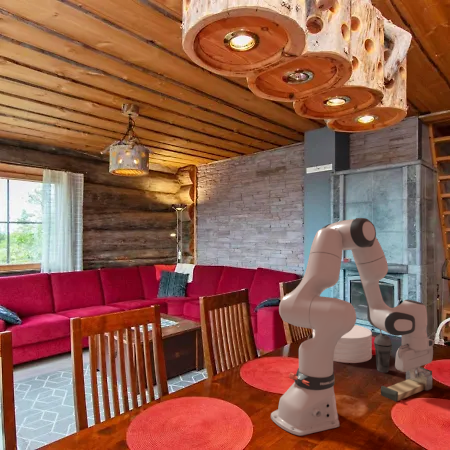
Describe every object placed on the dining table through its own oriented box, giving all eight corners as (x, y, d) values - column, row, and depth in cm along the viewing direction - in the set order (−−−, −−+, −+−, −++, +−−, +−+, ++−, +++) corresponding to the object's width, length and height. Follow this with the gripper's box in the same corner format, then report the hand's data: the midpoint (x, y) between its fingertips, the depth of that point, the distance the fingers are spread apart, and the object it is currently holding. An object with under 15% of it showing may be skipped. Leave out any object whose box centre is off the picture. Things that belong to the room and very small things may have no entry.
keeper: (426, 390, 138) (426, 374, 138) (405, 382, 145) (405, 367, 145) (432, 388, 140) (432, 372, 140) (411, 380, 147) (411, 365, 147)
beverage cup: (393, 374, 153) (393, 327, 154) (375, 372, 155) (375, 326, 155) (389, 368, 160) (389, 322, 161) (372, 366, 162) (372, 321, 162)
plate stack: (310, 342, 196) (310, 321, 196) (363, 345, 192) (363, 323, 193) (315, 361, 169) (315, 336, 169) (378, 364, 165) (378, 339, 165)
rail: (396, 401, 129) (396, 384, 129) (380, 395, 134) (380, 378, 134) (432, 386, 142) (432, 370, 142) (416, 380, 147) (416, 366, 147)
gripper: (406, 349, 132) (406, 387, 132) (436, 340, 143) (436, 375, 143) (390, 344, 138) (390, 380, 138) (420, 336, 149) (420, 369, 149)
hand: (414, 377), depth 141 cm, fingers closed
